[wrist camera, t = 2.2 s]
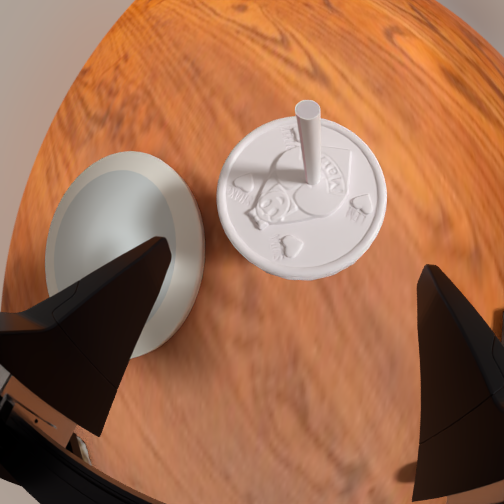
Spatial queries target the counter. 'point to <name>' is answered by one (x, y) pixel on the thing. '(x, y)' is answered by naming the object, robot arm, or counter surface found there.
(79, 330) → the robot arm
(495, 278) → the counter surface
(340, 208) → the smoothie
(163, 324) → the plate
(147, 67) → the counter surface
